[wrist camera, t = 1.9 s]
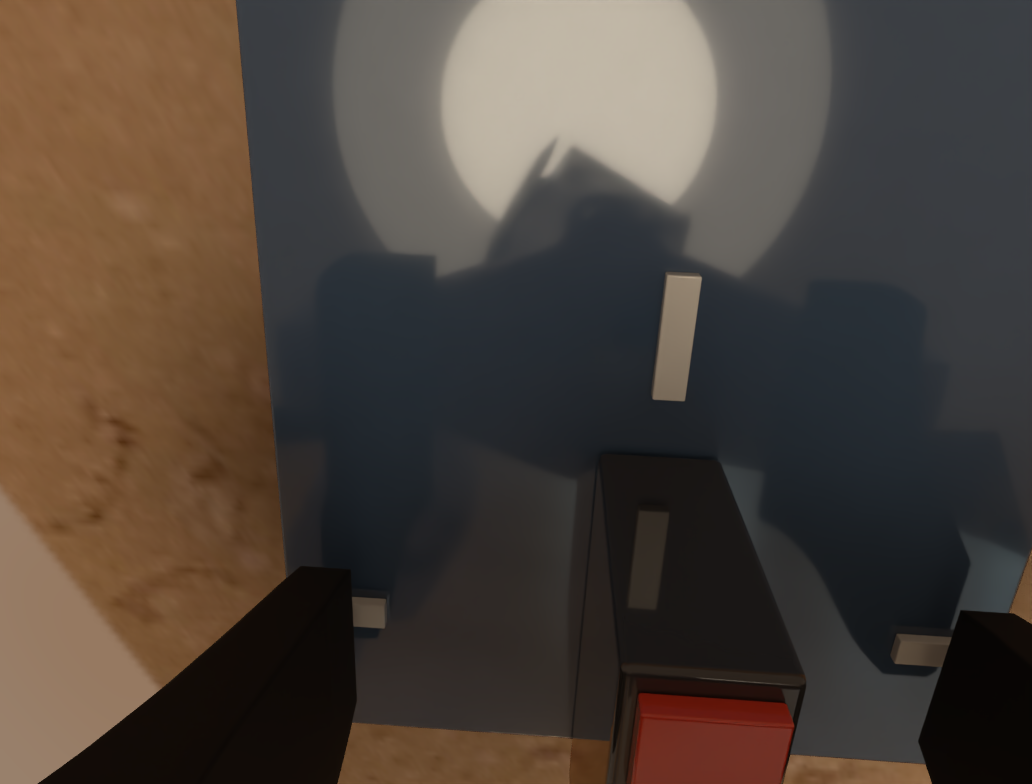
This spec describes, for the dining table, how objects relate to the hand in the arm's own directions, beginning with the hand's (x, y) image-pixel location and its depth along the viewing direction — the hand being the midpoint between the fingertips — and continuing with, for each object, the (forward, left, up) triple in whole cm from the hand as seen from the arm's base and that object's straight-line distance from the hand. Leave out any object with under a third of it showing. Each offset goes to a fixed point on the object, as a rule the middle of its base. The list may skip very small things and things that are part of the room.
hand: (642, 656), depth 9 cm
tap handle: (0, 0, -1) cm, 1 cm away
